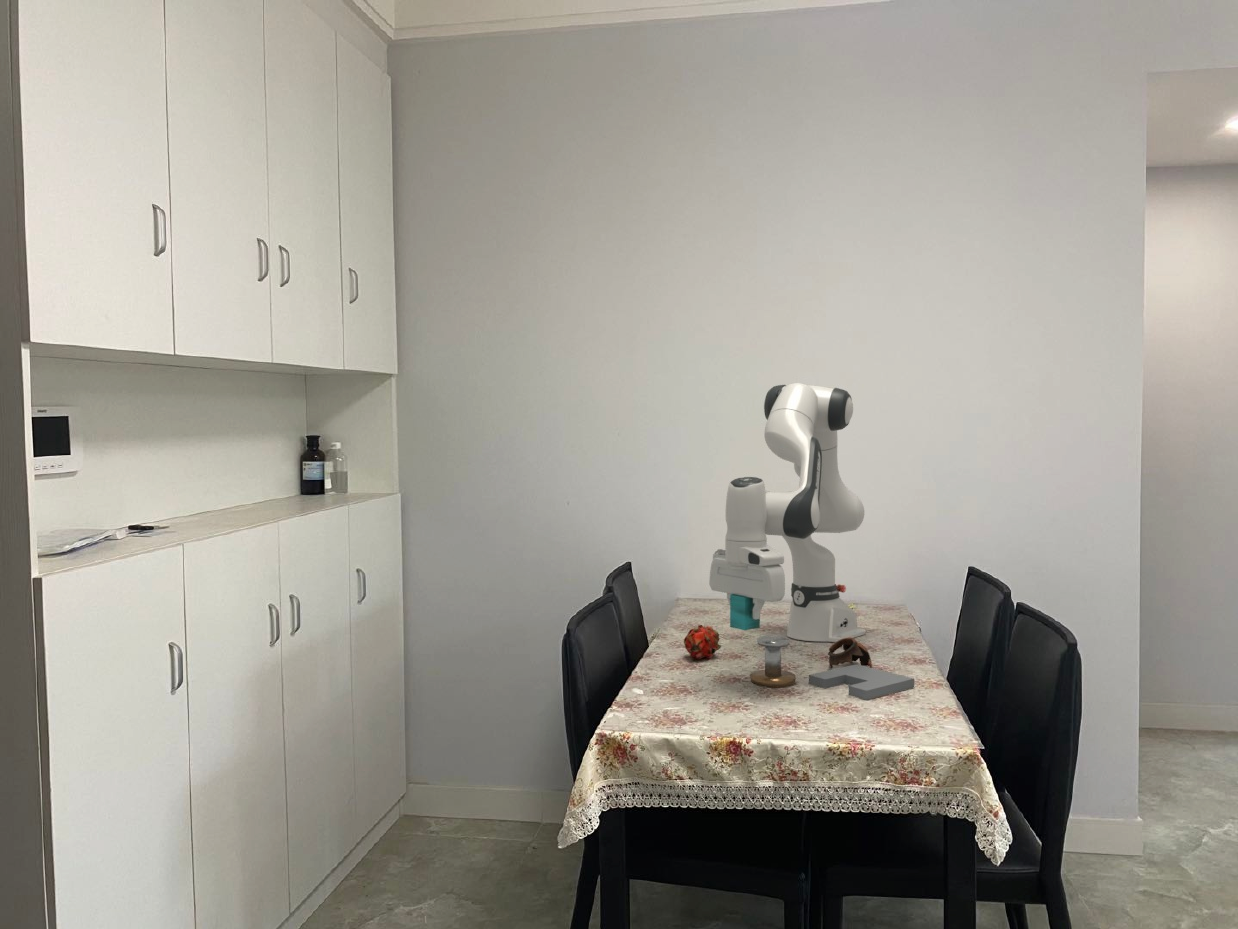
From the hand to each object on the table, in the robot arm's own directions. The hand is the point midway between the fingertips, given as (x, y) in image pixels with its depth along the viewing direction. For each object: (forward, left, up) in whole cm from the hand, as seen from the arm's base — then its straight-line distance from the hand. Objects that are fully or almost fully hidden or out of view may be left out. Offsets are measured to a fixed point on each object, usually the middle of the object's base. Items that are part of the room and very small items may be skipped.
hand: (745, 616), depth 216 cm
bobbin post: (-9, -1, -16) cm, 18 cm away
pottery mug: (-33, +2, -16) cm, 37 cm away
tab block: (0, 0, -2) cm, 2 cm away
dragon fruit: (-11, -27, -16) cm, 33 cm away
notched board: (-22, +13, -16) cm, 30 cm away
